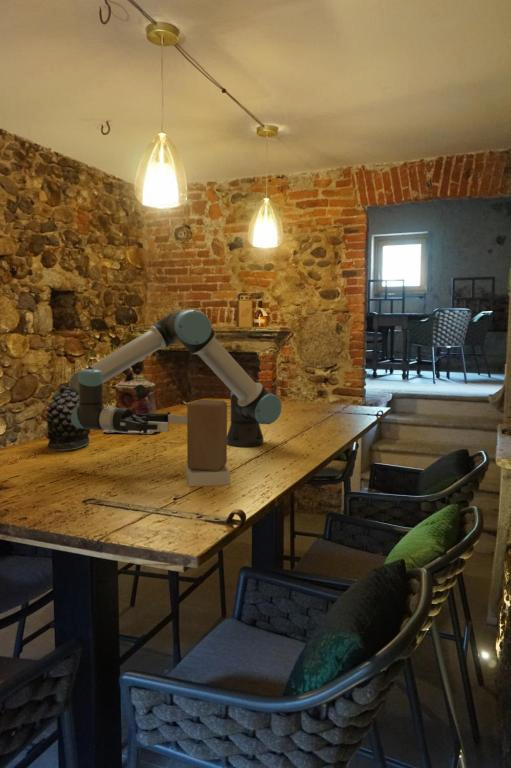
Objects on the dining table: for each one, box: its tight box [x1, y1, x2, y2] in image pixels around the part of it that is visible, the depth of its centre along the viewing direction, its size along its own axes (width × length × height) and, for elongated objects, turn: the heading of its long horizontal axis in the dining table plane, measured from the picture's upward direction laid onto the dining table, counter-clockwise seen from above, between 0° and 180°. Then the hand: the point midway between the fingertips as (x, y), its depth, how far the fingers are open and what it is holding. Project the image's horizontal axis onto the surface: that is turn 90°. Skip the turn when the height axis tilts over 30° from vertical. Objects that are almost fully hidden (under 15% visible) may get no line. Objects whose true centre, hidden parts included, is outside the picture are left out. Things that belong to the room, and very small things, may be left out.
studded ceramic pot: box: [44, 383, 91, 452], centre depth 211 cm, size 21×15×25 cm
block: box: [186, 399, 228, 471], centre depth 168 cm, size 10×10×20 cm
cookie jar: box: [102, 358, 160, 435], centre depth 249 cm, size 25×25×32 cm
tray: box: [185, 463, 231, 487], centre depth 169 cm, size 12×12×4 cm
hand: (178, 423), depth 170 cm, fingers open, 13 cm apart
